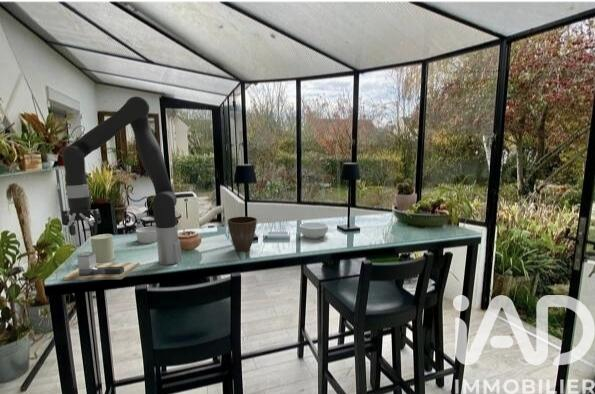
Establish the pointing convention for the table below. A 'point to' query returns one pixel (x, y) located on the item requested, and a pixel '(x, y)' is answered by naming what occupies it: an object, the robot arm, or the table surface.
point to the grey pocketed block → (86, 260)
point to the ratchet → (101, 271)
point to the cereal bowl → (313, 230)
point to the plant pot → (242, 232)
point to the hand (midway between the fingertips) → (83, 234)
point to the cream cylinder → (103, 247)
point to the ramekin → (147, 234)
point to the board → (127, 269)
